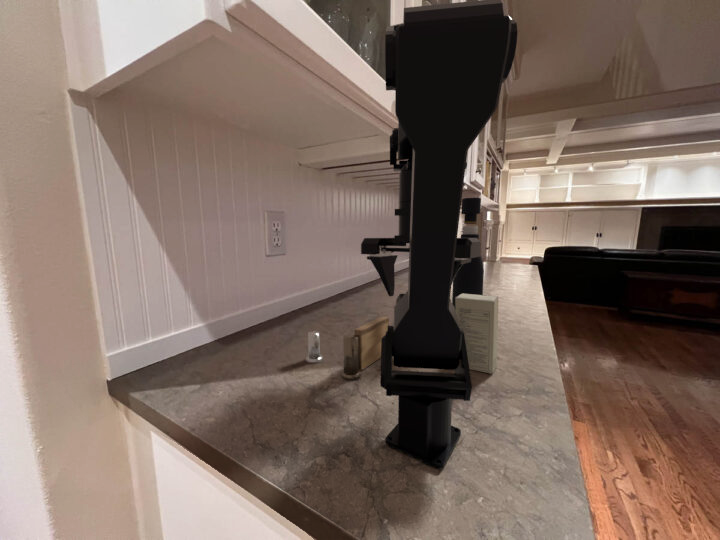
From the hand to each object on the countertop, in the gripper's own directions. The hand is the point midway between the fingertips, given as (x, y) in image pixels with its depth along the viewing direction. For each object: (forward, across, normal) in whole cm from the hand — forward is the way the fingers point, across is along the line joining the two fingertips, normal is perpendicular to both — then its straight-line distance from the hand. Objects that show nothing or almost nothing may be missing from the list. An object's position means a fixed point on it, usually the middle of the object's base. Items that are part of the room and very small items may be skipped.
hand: (415, 299), depth 48 cm
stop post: (+12, +16, +8) cm, 21 cm away
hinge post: (+12, +7, +8) cm, 16 cm away
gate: (+12, +7, +2) cm, 14 cm away
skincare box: (+12, -8, -7) cm, 16 cm away
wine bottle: (+12, -1, -23) cm, 26 cm away
